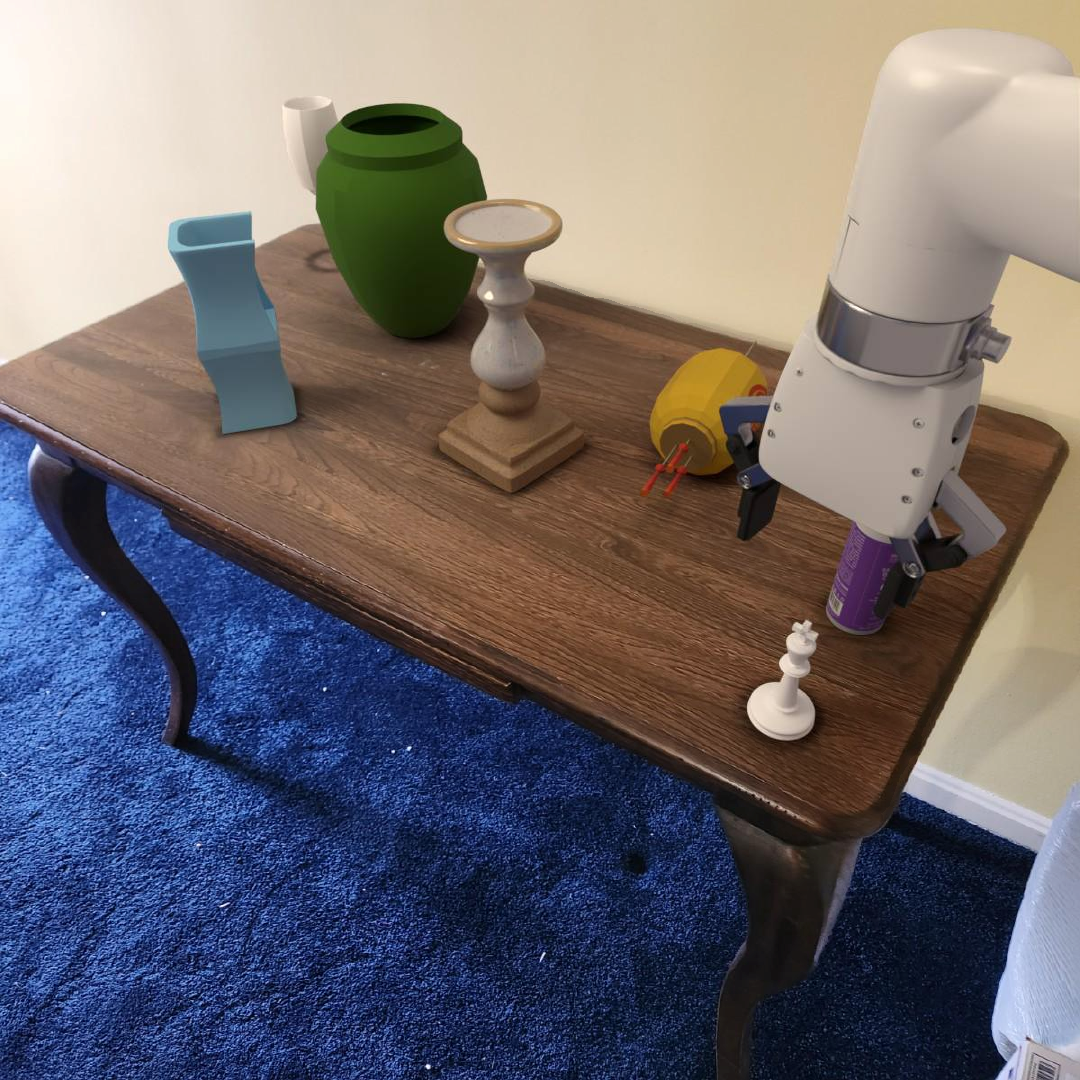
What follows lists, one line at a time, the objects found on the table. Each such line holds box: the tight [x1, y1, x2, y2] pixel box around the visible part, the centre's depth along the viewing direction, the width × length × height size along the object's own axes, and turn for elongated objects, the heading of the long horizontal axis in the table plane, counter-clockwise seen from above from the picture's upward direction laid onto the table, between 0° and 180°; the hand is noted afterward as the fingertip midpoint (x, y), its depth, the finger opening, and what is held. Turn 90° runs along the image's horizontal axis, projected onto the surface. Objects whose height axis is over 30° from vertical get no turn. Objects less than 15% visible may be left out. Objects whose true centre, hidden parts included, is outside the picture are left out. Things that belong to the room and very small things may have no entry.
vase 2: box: [167, 210, 298, 435], centre depth 88 cm, size 8×8×20 cm
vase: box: [315, 102, 488, 339], centre depth 101 cm, size 20×20×24 cm
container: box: [825, 521, 898, 636], centre depth 67 cm, size 5×5×15 cm
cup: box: [281, 95, 339, 196], centre depth 116 cm, size 7×7×21 cm
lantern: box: [639, 340, 769, 499], centre depth 85 cm, size 10×10×30 cm
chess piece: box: [746, 619, 819, 741], centre depth 61 cm, size 5×5×10 cm
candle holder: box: [438, 198, 585, 494], centre depth 81 cm, size 11×11×24 cm
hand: (818, 566), depth 54 cm, fingers open, 9 cm apart
